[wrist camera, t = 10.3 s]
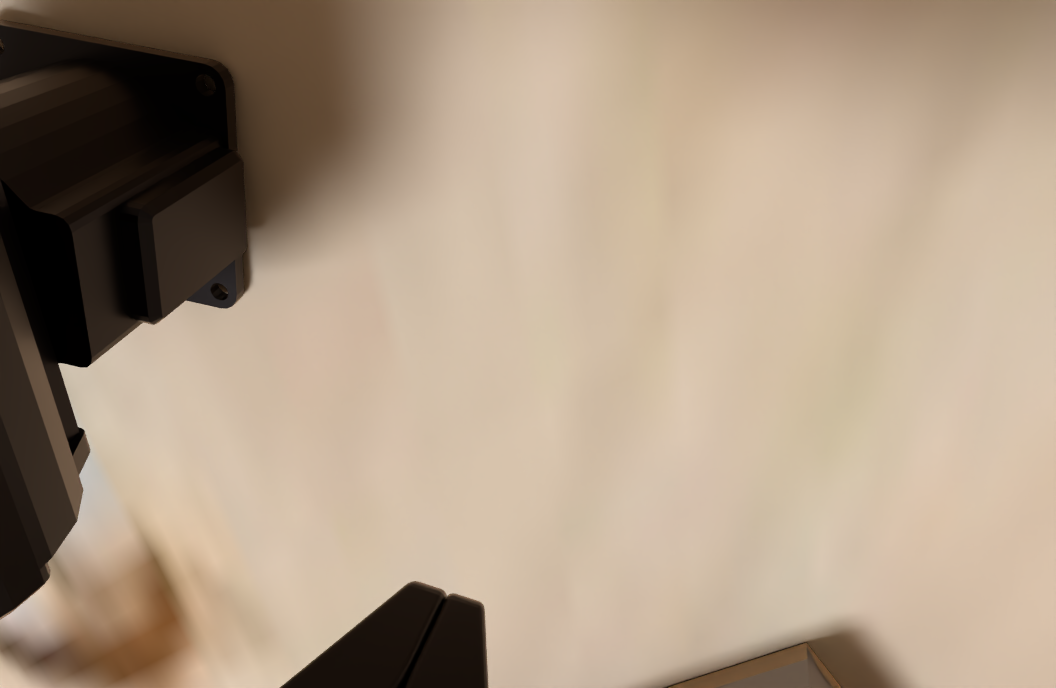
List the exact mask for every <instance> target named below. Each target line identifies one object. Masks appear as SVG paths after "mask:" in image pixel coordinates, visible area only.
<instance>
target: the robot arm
mask: <svg viewBox="0 0 1056 688" xmlns="http://www.w3.org/2000/svg"><path fill="white" fill-rule="evenodd" d="M0 39H1V40H2V42H3V45H4V50H3V49H2V48H1V47H0V619H2V618H3V617H5V616H7V615H8V614H10V613H11V612H12V611H14V610H15V609H16V608H17V607H18V606H20V605H21V604H22V603H23V602H24V601H26V600H27V599H28V598H29V597H30V596H31V595H33V594H34V593H35V592H36V591H37V590H39V589H40V588H41V587H42V586H43V585H44V584H45V583H46V581H47V580H48V579H49V577H50V568H49V566H48V563H47V562H48V561H49V560H50V559H51V558H52V557H53V555H54V554H55V553H56V551H57V550H58V548H59V547H60V545H61V544H62V542H63V541H64V539H65V538H66V536H67V535H68V534H69V532H70V531H71V529H72V528H73V526H74V525H75V523H76V522H77V519H78V514H79V509H80V504H81V499H82V494H83V487H82V484H81V481H80V478H79V474H80V472H81V470H82V468H83V466H84V464H85V462H86V460H87V458H88V456H89V453H90V447H89V444H88V441H87V438H86V434H85V431H84V430H83V429H82V428H79V427H78V426H77V423H76V419H75V416H74V413H73V410H72V407H71V404H70V400H69V397H68V394H67V391H66V388H65V384H64V381H63V378H62V375H61V372H60V368H59V365H58V363H65V364H69V365H73V366H77V367H88V366H89V365H91V364H92V363H93V362H94V361H96V360H97V359H98V358H99V357H100V356H102V355H103V354H104V353H105V352H107V351H108V350H109V349H110V348H112V347H113V346H114V345H115V344H117V343H118V342H119V341H120V340H122V339H123V338H124V337H125V336H127V335H128V334H129V333H130V332H132V331H133V330H134V329H135V328H137V327H138V326H139V325H140V324H142V323H143V322H144V323H148V324H153V325H154V324H157V323H159V322H160V321H161V320H162V319H164V318H165V317H166V316H167V315H169V314H170V313H171V312H172V311H173V310H175V309H176V308H177V307H178V306H179V305H181V304H182V303H183V302H184V301H186V300H187V301H191V302H196V303H200V304H204V305H209V306H213V307H218V308H229V307H231V306H233V305H234V304H235V303H236V302H237V301H239V300H240V298H241V297H242V296H243V293H244V277H243V256H242V254H243V253H244V252H245V251H246V249H247V232H246V211H245V189H244V168H243V161H242V159H241V157H240V155H239V154H238V152H237V136H236V116H235V96H234V83H233V79H232V76H231V74H230V72H229V71H228V69H227V68H226V67H225V66H224V65H222V64H221V63H219V62H217V61H214V60H211V59H205V58H200V57H195V56H190V55H184V54H179V53H174V52H168V51H163V50H158V49H153V48H147V47H142V46H137V45H131V44H126V43H121V42H116V41H110V40H105V39H100V38H94V37H89V36H84V35H79V34H73V33H68V32H63V31H57V30H52V29H47V28H42V27H36V26H31V25H26V24H20V23H15V22H10V21H5V20H0ZM205 74H206V75H208V76H210V77H211V78H212V79H213V81H214V82H215V86H216V89H215V92H214V91H212V90H210V89H209V88H208V87H207V86H206V83H205V80H204V78H205ZM218 283H219V284H222V285H224V287H225V288H226V289H227V291H228V294H227V293H225V292H223V291H222V290H221V289H220V288H219V285H218ZM280 688H488V670H487V649H486V629H485V610H484V606H483V604H482V603H481V602H479V601H476V600H473V599H470V598H467V597H464V596H461V595H458V594H453V593H452V594H449V595H448V596H446V593H445V591H443V590H442V589H439V588H436V587H433V586H430V585H427V584H424V583H421V582H417V581H414V582H410V583H408V584H407V585H405V586H404V587H403V588H402V589H400V590H399V591H398V592H397V593H396V594H394V595H393V596H392V597H391V598H389V599H388V600H387V601H386V602H384V603H383V604H382V605H381V606H380V607H378V608H377V609H376V610H375V611H373V612H372V613H371V614H370V615H369V616H367V617H366V618H365V619H364V620H362V621H361V622H360V623H359V624H357V625H356V626H355V627H354V628H353V629H351V630H350V631H349V632H348V633H346V634H345V635H344V636H343V637H342V638H340V639H339V640H338V641H337V642H335V643H334V644H333V645H332V646H330V647H329V648H328V649H327V650H326V651H324V652H323V653H322V654H321V655H319V656H318V657H317V658H316V659H314V660H313V661H312V662H311V663H310V664H308V665H307V666H306V667H305V668H303V669H302V670H301V671H300V672H299V673H297V674H296V675H295V676H294V677H292V678H291V679H290V680H289V681H287V682H286V683H285V684H284V685H283V686H281V687H280Z"/></svg>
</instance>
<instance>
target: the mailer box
mask: <svg viewBox="0 0 1056 688" xmlns="http://www.w3.org/2000/svg"><path fill="white" fill-rule="evenodd" d="M667 688H841V687H840V685H839V684H838V683H837V681H836V680H835V679H834V678H833V676H832V675H831V674H830V672H829V671H828V670H827V669H826V667H825V666H824V665H823V663H822V662H821V661H820V660H819V658H818V657H817V656H816V654H815V653H814V652H813V651H812V649H811V648H810V647H809V645H808V644H807V643H804V644H801V645H798V646H794V647H791V648H788V649H785V650H782V651H779V652H776V653H773V654H770V655H766V656H763V657H760V658H757V659H754V660H751V661H748V662H745V663H742V664H739V665H735V666H732V667H729V668H726V669H723V670H720V671H717V672H714V673H711V674H708V675H704V676H701V677H698V678H695V679H692V680H689V681H686V682H683V683H680V684H677V685H673V686H670V687H667Z"/></svg>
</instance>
